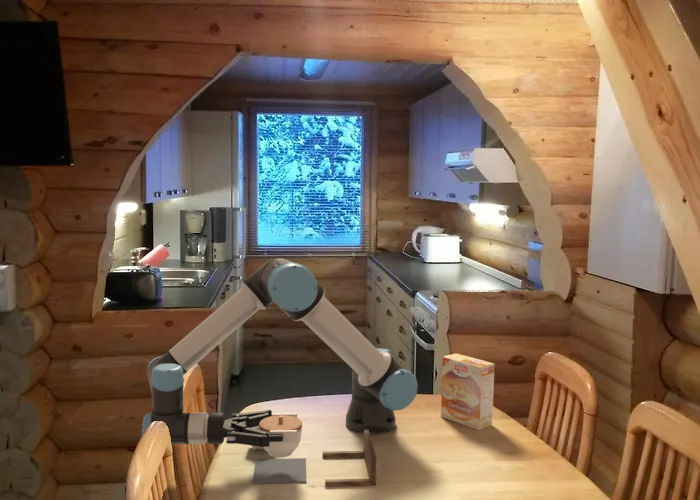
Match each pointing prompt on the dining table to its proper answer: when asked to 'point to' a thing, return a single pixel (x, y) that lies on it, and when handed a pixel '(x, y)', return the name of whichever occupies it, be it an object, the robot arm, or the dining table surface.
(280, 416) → the lidded jar
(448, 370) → the coffeecake box
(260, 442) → the die
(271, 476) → the pad
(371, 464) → the shelf lane
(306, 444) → the dining table surface
